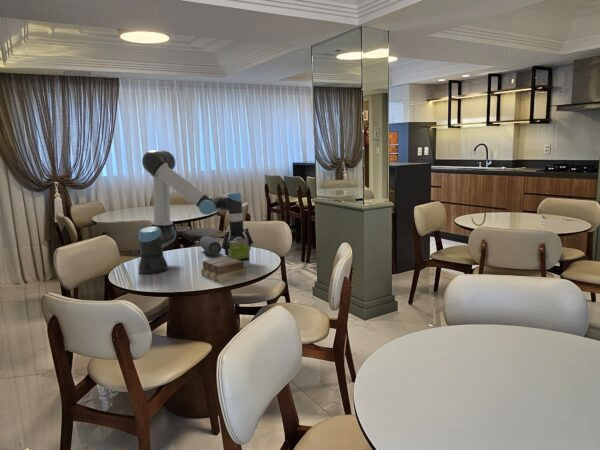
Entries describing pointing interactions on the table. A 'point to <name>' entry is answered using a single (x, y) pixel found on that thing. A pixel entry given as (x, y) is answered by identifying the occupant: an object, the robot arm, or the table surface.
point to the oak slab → (223, 275)
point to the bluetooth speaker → (210, 245)
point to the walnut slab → (223, 265)
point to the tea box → (240, 250)
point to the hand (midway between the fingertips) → (238, 258)
